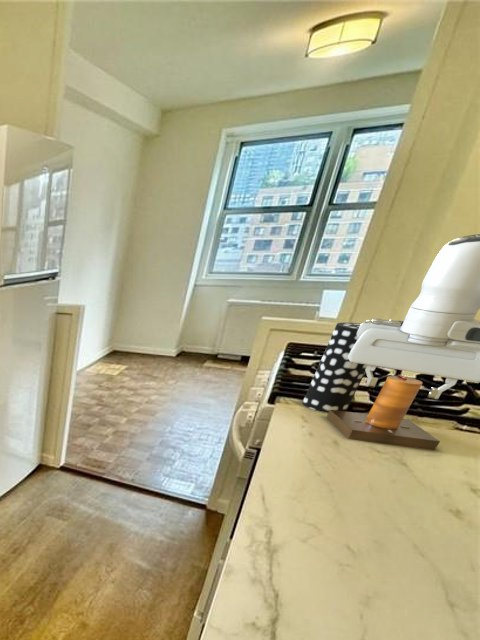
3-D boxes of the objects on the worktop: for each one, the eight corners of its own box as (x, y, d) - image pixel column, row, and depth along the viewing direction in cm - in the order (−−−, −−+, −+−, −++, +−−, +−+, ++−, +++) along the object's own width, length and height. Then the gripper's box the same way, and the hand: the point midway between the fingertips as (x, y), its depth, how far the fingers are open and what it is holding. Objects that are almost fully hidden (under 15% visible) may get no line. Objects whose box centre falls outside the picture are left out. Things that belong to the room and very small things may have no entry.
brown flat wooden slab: (402, 429, 107) (408, 418, 106) (433, 452, 97) (440, 440, 96) (325, 419, 112) (330, 408, 111) (347, 440, 102) (352, 429, 101)
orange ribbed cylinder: (403, 430, 101) (429, 384, 96) (371, 426, 102) (395, 380, 98) (391, 421, 105) (415, 376, 100) (360, 417, 107) (383, 373, 102)
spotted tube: (316, 400, 123) (352, 321, 113) (353, 413, 116) (395, 329, 106) (293, 404, 120) (328, 323, 111) (329, 417, 113) (369, 332, 104)
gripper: (361, 319, 99) (332, 383, 105) (515, 336, 85) (472, 409, 92) (365, 314, 102) (337, 376, 109) (513, 330, 89) (471, 400, 95)
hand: (400, 391), depth 100 cm, fingers open, 8 cm apart
